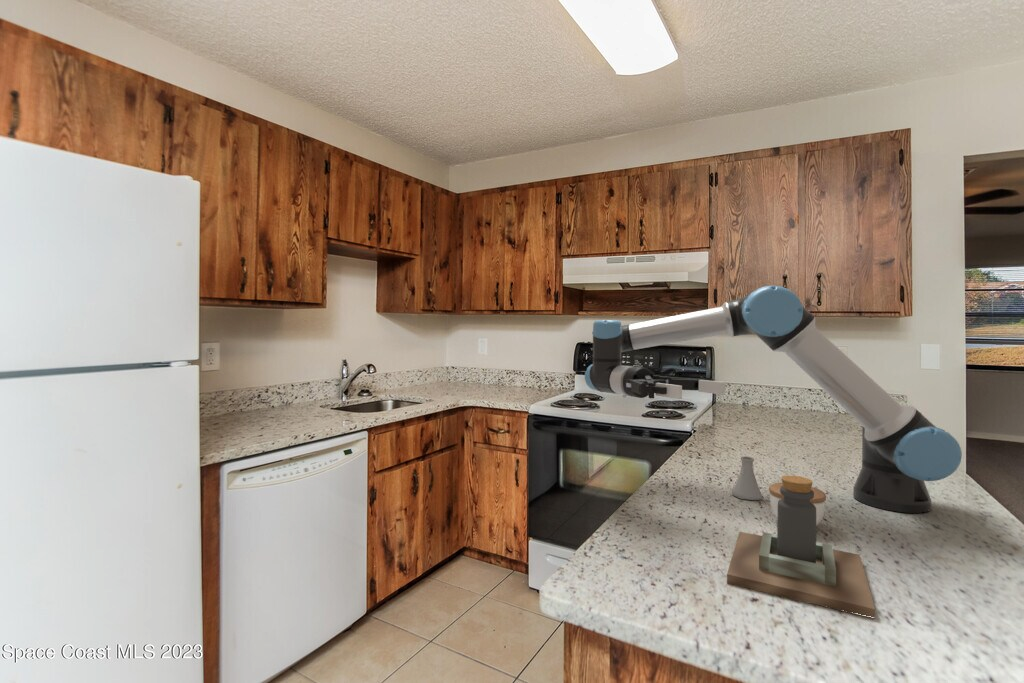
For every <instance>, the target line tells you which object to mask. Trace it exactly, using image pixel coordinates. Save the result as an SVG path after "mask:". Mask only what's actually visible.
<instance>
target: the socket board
mask: <svg viewBox="0 0 1024 683" xmlns="http://www.w3.org/2000/svg"><path fill="white" fill-rule="evenodd" d="M736 539H737V540H736V542H735V545H734V549H733V552H732V556H731V560H730V562H729V567H728V570H727V572H726V573H727V574H726V584H730V585H733V586H734V585H735V586H739V587H742V588H746V587H747V589H751V590H755V591H759V592H764V593H766V594H770V595H773V596H774V595H775V596H779V597H782V596H783V598H786V599H791V600H795V601H799V602H804V603H807V602H808V603H807V604H811V603H814V604H813V605H815V604H818V605H817V606H819V605H822V606H821V607H823V606H827V607H830V608H829V609H831V608H834V609H833V610H835V609H838V610H837V611H839V610H844V611H847V612H846V613H848V612H853V613H858V614H861V615H866V616H871V617H875V618H876V608H875V604H874V600H873V597H872V593H871V590H870V587H869V583H868V579H867V575H866V571H865V567H864V564H863V561H862V557H861V555H860V554H858V553H854V552H849V551H848V552H847V551H842V550H836V549H834V548H833V544H830V543H829V544H828V543H825V542H824V543H823V542H817V541H816V563H812V562H807V561H802V560H798V559H793V558H788V557H783V556H778V555H777V534H775V533H770V532H766V531H765V532H764V531H763V532H762V535H759V534H755V533H750V532H744V531H739V532H738V534H737V538H736ZM827 607H826V608H827Z"/></svg>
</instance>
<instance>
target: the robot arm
mask: <svg viewBox="0 0 1024 683" xmlns="http://www.w3.org/2000/svg"><path fill="white" fill-rule="evenodd" d="M592 325H593V326H592V364H590V365H588V367H587V368H586V371H585V372H584V381H585V383H586V385H587V386H588V388H590V389H592V390H593V391H597V392H601V393H608V394H615V395H622V398H627V397H633V398H636V399H637V398H639V399H644V398H647V397H648V399H655V397H662V398H663V397H664V398H670V399H675V400H683V391H698V393H707V394H715V395H726V382H725V381H717V380H707V379H705V378H704V376H699V378H688V377H685V378H684V377H671V376H661V375H654V374H653V373H652V372H651V371H650V369H648V368H646V367H642V366H641V367H640V366H632V365H622V353H624V352H630V351H635V350H640V349H645V348H651V347H652V348H653V347H658V346H664V345H669V344H674V343H675V344H676V343H681V342H687V341H693V340H697V339H698V340H699V339H704V338H709V337H716V336H722V335H728V336H730V337H733V338H734V337H738V336H750V335H752V336H755V335H756V337H758V338H759V339H760V340H761V341H762V342H763V343H764V344H765V345H767V347H768V348H769V349H771V350H772V351H773V352H779V353H781V352H782V353H785V354H786V356H788V357H789V358H790V359H791V360H792V361H793V362H794V363H795V364H796V365H797V366H798V367H799V368H801V370H803V371H804V373H806V374H807V375H808V376H809V377H810V378H811V379H812V380H813V381H814V382H815V383H816V384H817V385H818V386H819V387H820V388H821V389H823V390H824V391H825V392H826V393H827V394H828V395H829V396H830V397H831V398H833V400H834V401H836V403H837V404H838V405H840V406H841V407H842V408H843V409H844V410H845V412H847V413H848V414H849V415H850V416H851V417H853V419H854V420H855V421H857V422H858V423H859V424H860V426H861V428H862V431H861V433H862V434H861V435H862V436H861V437H862V438H861V439H862V440H861V441H862V442H861V443H862V444H861V445H862V446H861V448H862V449H861V452H862V456H861V460H862V461H861V469H860V471H859V473H858V476H857V478H856V480H855V483H854V485H853V489H852V490H853V493H852V494H853V495H852V496H853V498H854V499H855V500H857V501H858V502H861V503H863V504H865V505H868V506H870V507H874V508H877V509H882V510H886V511H891V512H897V513H905V514H907V513H908V514H923V513H922V512H925V513H928V512H927V511H929V512H931V511H932V498H931V496H930V493H929V490H928V488H927V486H926V485H927V484H926V483H925V482H937V481H940V480H944V479H946V478H948V477H949V476H951V475H952V474H954V473H955V472H956V471H957V470H958V468H960V465H961V463H962V456H963V452H962V447H961V445H960V443H959V442H958V440H957V438H955V437H954V436H953V435H952V434H951V433H950V432H948V431H947V430H945V429H943V428H940V427H937V426H936V425H934V424H933V422H931V421H930V420H929V419H928V418H927V417H926V416H924V415H923V414H922V412H920V411H919V410H917V408H915V407H914V406H912V405H908V404H900V403H899V402H898V401H897V400H895V399H894V398H893V397H892V396H891V395H890V394H889V393H888V392H887V391H886V390H885V389H884V388H882V387H881V386H880V385H879V384H878V383H877V382H875V380H874V379H873V378H872V377H871V376H870V375H868V373H866V372H865V371H864V370H863V369H862V368H861V367H859V366H858V364H856V363H855V362H854V361H853V360H852V359H851V358H850V357H848V355H847V354H845V353H844V352H843V350H841V349H840V348H839V347H838V346H836V345H835V344H834V343H833V342H832V341H831V340H830V339H829V338H827V336H825V334H824V333H822V332H821V331H820V330H819V329H818V328H817V326H816V317H815V316H814V315H813V314H812V313H811V312H810V311H809V310H808V309H807V308H806V307H804V306H803V302H802V301H801V299H800V298H799V296H798V295H797V294H796V293H794V292H793V291H792V290H791V289H788V288H786V287H783V286H779V285H766V286H761V287H759V288H757V289H754V291H752V292H751V293H749V294H747V295H745V296H742V297H740V298H737V299H733V300H728V301H725V302H724V303H723V304H722V305H721V306H716V307H711V308H708V309H707V308H706V309H702V310H697V311H691V312H688V313H687V312H686V313H681V314H676V315H675V314H674V315H671V316H667V317H660V318H655V319H650V320H646V321H639V322H634V323H630V324H626V325H625V324H624V325H622V322H621V321H620V320H618V319H611V320H610V319H597V320H595V321H594V322H593V324H592Z"/></svg>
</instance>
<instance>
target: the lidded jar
mask: <svg viewBox="0 0 1024 683" xmlns="http://www.w3.org/2000/svg"><path fill="white" fill-rule="evenodd" d="M781 486H783V483H782V482H776V483H771V484H770V485H769V486H768V492H769V504H770V509H771V511H772V513H773V515H774V517H775V518H776V520H778V501H779V500H780V499H782V498H784V495H782V494H781V493H780V487H781ZM811 490H812V491H813V492H814V498H813V499H810V502H811V503H812V504H814V505H815V507H816V526H818V525H819V524H820V523H821V521H822V520H823V518H824V515H825V512H826V511H825V510H826V500H827V495H826V493H825V492H824V491H822V490H821V489H819V488H817V487H813V486H812V487H811Z"/></svg>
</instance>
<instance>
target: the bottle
mask: <svg viewBox="0 0 1024 683" xmlns="http://www.w3.org/2000/svg"><path fill="white" fill-rule="evenodd" d="M781 481H782V482H781V483H783V486H781V487H780V493H781V494H782V495H784V498H782V499H780V500H779V501H778V519H776V520H777V522H776V523H777V534H776V535H777V555H778V556H783V557H788V558H793V559H798V560H802V561H807V562H812V563H816V542H817V525H816V507H815V505H814V504H812V503H811V502H810V499H813V498H814V492H813V491H812V490H811V487H813V480H812V479H810V478H807V477H805V476H798V475H782V476H781Z"/></svg>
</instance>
